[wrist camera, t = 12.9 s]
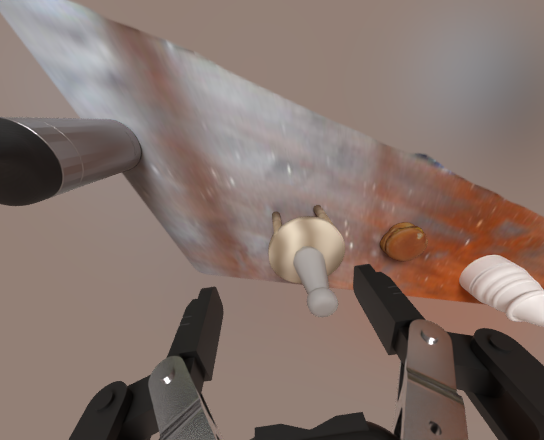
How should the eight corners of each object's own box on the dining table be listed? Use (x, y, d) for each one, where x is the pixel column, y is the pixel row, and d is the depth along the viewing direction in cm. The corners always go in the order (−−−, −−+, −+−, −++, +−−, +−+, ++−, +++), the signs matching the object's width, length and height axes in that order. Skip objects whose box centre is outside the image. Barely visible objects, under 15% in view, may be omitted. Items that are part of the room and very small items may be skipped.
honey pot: (449, 280, 58) (522, 341, 42) (489, 247, 54) (587, 301, 37) (476, 295, 61) (553, 357, 45) (515, 266, 57) (616, 323, 41)
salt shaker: (325, 245, 39) (353, 299, 27) (314, 268, 41) (335, 326, 29) (297, 238, 38) (313, 291, 26) (287, 262, 40) (298, 320, 28)
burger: (375, 253, 53) (385, 264, 49) (385, 221, 49) (397, 230, 45) (411, 253, 53) (423, 264, 49) (424, 222, 49) (439, 231, 45)
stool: (272, 259, 52) (274, 288, 43) (262, 206, 45) (262, 227, 36) (330, 250, 52) (344, 277, 43) (328, 195, 45) (345, 214, 36)
